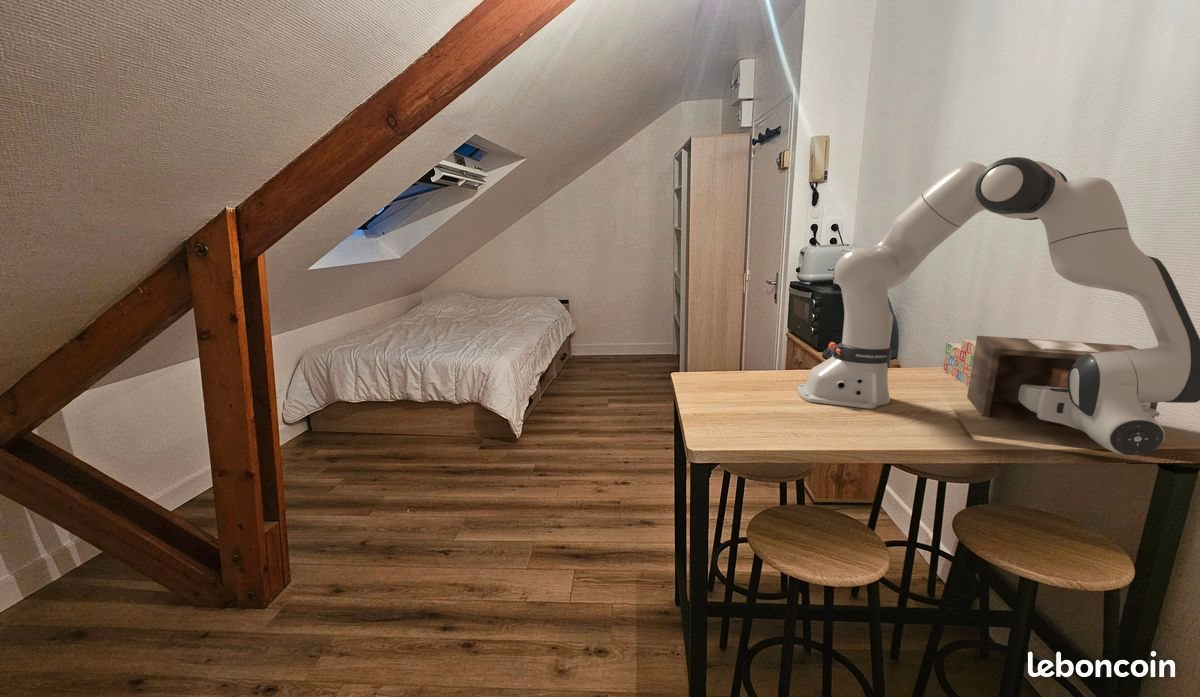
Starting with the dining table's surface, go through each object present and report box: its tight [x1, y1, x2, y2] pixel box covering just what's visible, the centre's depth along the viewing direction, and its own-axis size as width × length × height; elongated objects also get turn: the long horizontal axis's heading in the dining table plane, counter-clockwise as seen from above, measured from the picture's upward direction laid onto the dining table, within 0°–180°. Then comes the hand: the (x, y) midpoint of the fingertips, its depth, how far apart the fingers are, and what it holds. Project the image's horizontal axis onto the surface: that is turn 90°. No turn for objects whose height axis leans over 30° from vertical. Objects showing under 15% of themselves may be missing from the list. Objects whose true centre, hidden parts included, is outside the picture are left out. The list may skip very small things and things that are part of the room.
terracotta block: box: [1050, 368, 1070, 388], centre depth 115 cm, size 5×5×10 cm
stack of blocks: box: [942, 339, 976, 387], centre depth 151 cm, size 21×6×12 cm, turn 170°
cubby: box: [966, 335, 1159, 427], centre depth 121 cm, size 29×15×18 cm, turn 67°
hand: (1066, 390), depth 116 cm, fingers closed on terracotta block, 5 cm apart
